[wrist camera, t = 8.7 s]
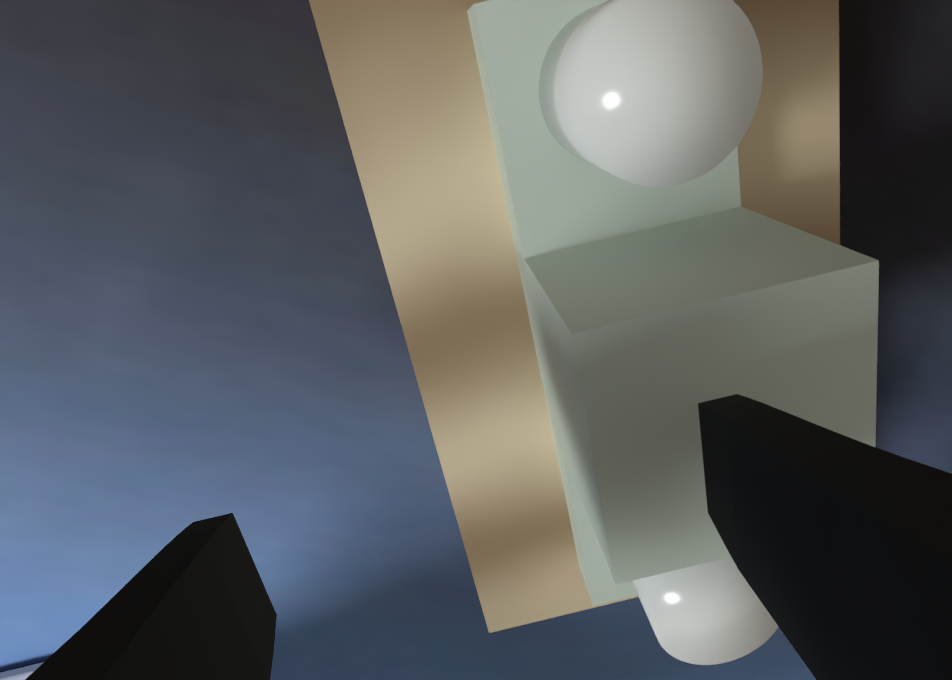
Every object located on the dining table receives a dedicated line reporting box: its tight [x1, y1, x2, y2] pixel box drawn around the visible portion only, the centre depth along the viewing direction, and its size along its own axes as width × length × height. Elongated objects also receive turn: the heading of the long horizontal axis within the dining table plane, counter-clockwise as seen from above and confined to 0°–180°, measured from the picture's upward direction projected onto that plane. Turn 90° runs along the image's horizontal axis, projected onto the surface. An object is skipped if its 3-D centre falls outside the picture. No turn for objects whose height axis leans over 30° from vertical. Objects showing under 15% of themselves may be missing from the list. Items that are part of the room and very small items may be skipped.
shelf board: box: [309, 0, 840, 633], centre depth 18 cm, size 18×11×2 cm, turn 13°
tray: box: [467, 0, 879, 665], centre depth 14 cm, size 15×5×6 cm, turn 13°
